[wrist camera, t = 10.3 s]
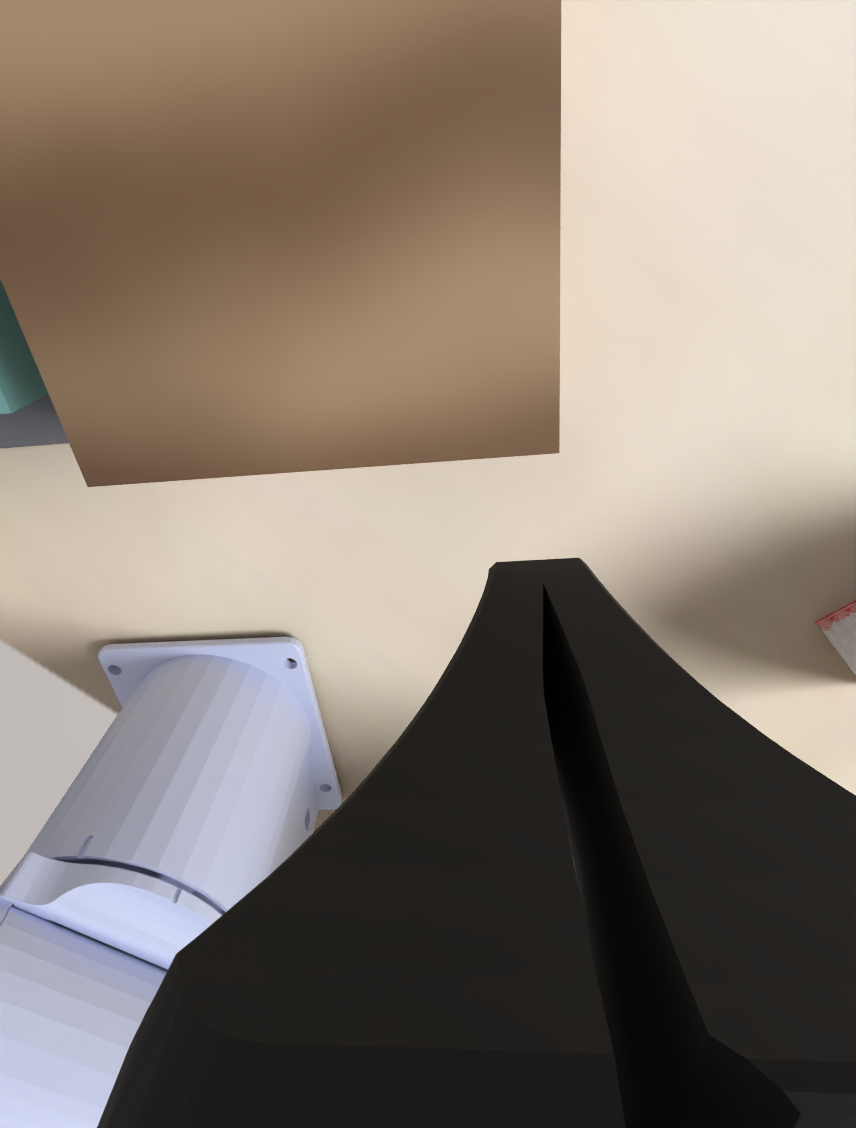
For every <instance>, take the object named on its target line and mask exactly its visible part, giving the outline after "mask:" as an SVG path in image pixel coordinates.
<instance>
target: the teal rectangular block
mask: <svg viewBox="0 0 856 1128" xmlns="http://www.w3.org/2000/svg"><path fill="white" fill-rule="evenodd" d="M48 394H49V393H48V391H47V389H46V386H45V384H44V382H43V379H42V377H41V374H40V372H39V370H38V367H37V365H36V363H35V360H34V358H33V355H32V353H31V351H30V348H29V346H28V344H27V341H26V339H25V336H24V334H23V332H22V329H21V327H20V325H19V322H18V320H17V317H16V315H15V313H14V310H13V308H12V305H11V303H10V301H9V298H8V296H7V294H6V291H5V289H4V286H3V284H2V282H1V279H0V414H7V413H13V412H15V411H17V410H19V409H21V408H23V407H25V406H26V405H28V404H30V403H32V402H34V401H36V400H38V399H40V398H42V397H44V396H46V395H48Z"/></svg>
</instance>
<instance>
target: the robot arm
mask: <svg viewBox="0 0 856 1128" xmlns="http://www.w3.org/2000/svg"><path fill="white" fill-rule="evenodd" d="M287 658H291V659H294V660H295V661H296V662H291V661H289V660H288V659H287ZM98 659H99V662H100V664H101V666H102V668H103V670H104V672H105V674H106V676H107V678H108V680H109V682H110V684H111V686H112V688H113V690H114V692H115V694H116V697H117V699H118V701H119V703H120V705H121V707H122V709H121V711H120V712H119V714H118V715H117V717H116V718H115V720H114V721H113V723H112V724H111V726H110V728H109V729H108V731H107V732H106V733H105V735H104V736H103V738H102V740H101V741H100V743H99V744H98V746H97V747H96V749H95V750H94V752H93V753H92V755H91V756H90V758H89V759H88V761H87V762H86V764H85V765H84V767H83V768H82V770H81V771H80V773H79V774H78V776H77V777H76V779H75V780H74V782H73V783H72V785H71V786H70V788H69V789H68V791H67V792H66V794H65V795H64V797H63V798H62V800H61V801H60V803H59V804H58V806H57V807H56V809H55V810H54V812H53V813H52V815H51V816H50V818H49V819H48V821H47V822H46V824H45V825H44V827H43V828H42V830H41V831H40V833H39V834H38V836H37V837H36V839H35V840H34V842H33V843H32V845H31V847H30V848H29V849H28V851H27V852H26V854H25V855H24V857H23V858H22V859H21V861H20V862H19V863H18V864H17V866H16V867H15V868H14V870H13V871H12V872H11V873H10V875H9V876H8V877H7V878H6V880H5V881H4V882H3V883H2V885H1V886H0V1128H856V796H855V795H854V794H852V793H851V792H849V791H847V790H846V789H844V788H843V787H841V786H840V785H838V784H837V783H835V782H834V781H832V780H831V779H829V778H828V777H826V776H824V775H823V774H821V773H820V772H818V771H817V770H815V769H814V768H812V767H811V766H809V765H808V764H806V763H805V762H803V761H801V760H800V759H798V758H797V757H795V756H794V755H792V754H791V753H790V752H788V751H787V750H785V749H784V748H782V747H781V746H780V745H778V744H777V743H775V742H774V741H772V740H771V739H770V738H768V737H767V736H765V735H764V734H763V733H761V732H760V731H759V730H757V729H756V728H755V727H753V726H752V725H751V724H749V723H748V722H747V721H746V720H744V719H743V718H742V717H740V716H739V715H738V714H736V713H735V712H734V711H732V710H731V709H730V708H729V707H727V706H726V705H725V704H723V703H722V702H721V701H720V700H718V699H717V698H716V697H715V696H714V695H712V694H711V693H710V692H709V691H708V690H707V689H705V688H704V687H703V686H702V685H701V684H700V683H698V682H697V681H696V680H695V679H694V678H693V677H692V676H691V675H690V674H688V673H687V672H686V671H685V670H684V669H683V668H682V667H681V666H680V665H679V664H677V663H676V662H675V661H674V660H673V659H672V658H671V657H670V656H669V655H668V654H667V653H666V652H665V651H664V650H663V649H662V648H661V647H660V646H659V645H658V644H657V643H656V642H655V641H654V640H653V639H652V638H651V637H650V636H649V635H648V634H647V633H646V632H645V631H644V630H643V629H642V628H641V627H640V626H639V625H638V624H637V623H636V622H635V621H634V620H633V619H632V618H631V616H630V615H629V614H628V613H627V612H626V611H625V610H624V609H623V608H622V607H621V605H620V604H619V603H618V602H617V601H616V600H615V599H614V597H613V596H612V595H611V594H610V593H609V592H608V590H607V589H606V588H605V587H604V586H603V584H602V583H601V582H600V581H599V580H598V578H597V577H596V576H595V575H594V573H593V572H592V571H591V570H590V568H589V567H588V566H587V564H586V563H584V562H583V561H582V560H581V559H580V558H567V559H548V560H529V561H511V562H496V563H495V564H494V565H493V566H492V567H491V568H490V569H489V574H488V579H487V582H486V586H485V589H484V592H483V595H482V598H481V600H480V602H479V605H478V607H477V610H476V612H475V615H474V617H473V619H472V621H471V623H470V625H469V627H468V629H467V631H466V633H465V635H464V637H463V639H462V641H461V643H460V645H459V647H458V649H457V651H456V653H455V654H454V656H453V658H452V659H451V661H450V663H449V664H448V666H447V668H446V669H445V671H444V673H443V675H442V676H441V678H440V680H439V681H438V683H437V685H436V686H435V688H434V689H433V691H432V693H431V694H430V696H429V697H428V699H427V700H426V702H425V703H424V705H423V706H422V707H421V709H420V710H419V712H418V713H417V715H416V716H415V717H414V719H413V720H412V721H411V723H410V724H409V725H408V727H407V728H406V729H405V731H404V732H403V733H402V735H401V736H400V737H399V739H398V740H397V741H396V743H395V744H394V745H393V746H392V747H391V749H390V750H389V751H388V752H387V753H386V755H385V756H384V757H383V758H382V759H381V761H380V762H379V763H378V764H377V765H376V767H375V768H374V769H373V770H372V771H371V773H370V774H369V775H368V776H367V777H366V778H365V780H364V781H363V782H362V783H361V784H360V785H359V786H358V787H357V789H356V790H355V791H354V792H353V793H352V794H351V795H350V796H349V797H348V798H347V799H346V801H345V802H344V803H343V804H342V805H341V803H342V793H341V789H340V785H339V782H338V778H337V774H336V770H335V767H334V763H333V759H332V755H331V751H330V748H329V744H328V740H327V736H326V733H325V729H324V725H323V721H322V718H321V714H320V710H319V706H318V702H317V699H316V695H315V691H314V687H313V684H312V680H311V676H310V672H309V669H308V665H307V661H306V657H305V653H304V650H303V646H302V644H301V643H300V642H299V641H298V640H297V639H295V638H292V637H269V638H245V639H221V640H197V641H173V642H149V643H125V644H108V645H105V646H104V647H103V648H102V649H101V650H100V652H99V653H98ZM115 665H116V666H118V667H120V668H118V667H116V666H115ZM327 784H328V785H327ZM337 808H338V809H337ZM334 809H337V810H336V811H335V812H334V813H333V814H332V815H331V816H330V817H329V818H328V819H327V820H326V821H325V822H324V823H323V824H322V825H321V826H320V827H319V828H318V829H317V830H316V831H315V832H314V828H315V824H316V820H317V816H318V812H319V810H334ZM313 832H314V833H313ZM569 840H570V842H569ZM570 845H571V847H570ZM571 850H572V852H571ZM572 854H573V857H572ZM573 859H574V863H573ZM574 864H575V868H574ZM575 870H576V873H575ZM576 875H577V878H576ZM577 881H578V883H577ZM578 887H579V888H578Z"/></svg>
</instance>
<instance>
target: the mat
mask: <svg viewBox="0 0 856 1128" xmlns="http://www.w3.org/2000/svg"><path fill="white" fill-rule="evenodd" d="M61 443H69V441H68V439H67V436H66V434H65V431H64V429H63V427H62V424H61V422H60V420H59V417H58V415H57V412H56V410H55V408H54V405H53V403H52V401H51V398H50V396H49V394H48V395H46V396H44V397H42V398H40V399H38V400H36V401H34V402H32V403H30V404H28V405H26V406H25V407H23V408H21V409H19V410H17V411H15V412H13V413H7V414H0V448H12V447H24V446H36V445H49V444H61Z"/></svg>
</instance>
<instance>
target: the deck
mask: <svg viewBox="0 0 856 1128" xmlns="http://www.w3.org/2000/svg"><path fill="white" fill-rule="evenodd" d="M560 150H561V0H0V279H1V282H2V284H3V286H4V289H5V291H6V294H7V296H8V298H9V301H10V303H11V305H12V308H13V310H14V313H15V315H16V317H17V320H18V322H19V325H20V327H21V329H22V332H23V334H24V336H25V339H26V341H27V344H28V346H29V348H30V351H31V353H32V355H33V358H34V360H35V363H36V365H37V367H38V370H39V372H40V374H41V377H42V379H43V382H44V384H45V386H46V389H47V391H48V393H49V396H50V398H51V401H52V403H53V405H54V408H55V410H56V412H57V415H58V417H59V420H60V422H61V424H62V427H63V429H64V431H65V434H66V436H67V439H68V441H69V443H70V446H71V448H72V450H73V453H74V455H75V458H76V460H77V462H78V465H79V467H80V470H81V472H82V474H83V477H84V479H85V481H86V484H87V486H88V487H94V486H108V485H122V484H136V483H150V482H164V481H177V480H191V479H205V478H219V477H233V476H247V475H261V474H275V473H289V472H303V471H316V470H330V469H344V468H358V467H372V466H386V465H400V464H414V463H428V462H441V461H455V460H469V459H483V458H497V457H511V456H525V455H539V454H553V453H559V396H560Z"/></svg>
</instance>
